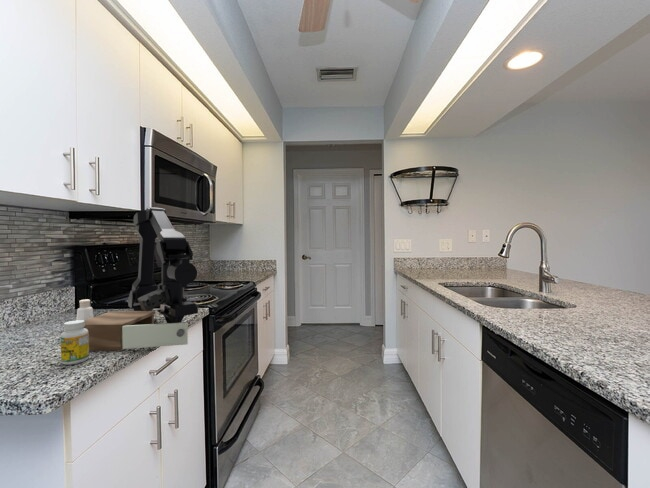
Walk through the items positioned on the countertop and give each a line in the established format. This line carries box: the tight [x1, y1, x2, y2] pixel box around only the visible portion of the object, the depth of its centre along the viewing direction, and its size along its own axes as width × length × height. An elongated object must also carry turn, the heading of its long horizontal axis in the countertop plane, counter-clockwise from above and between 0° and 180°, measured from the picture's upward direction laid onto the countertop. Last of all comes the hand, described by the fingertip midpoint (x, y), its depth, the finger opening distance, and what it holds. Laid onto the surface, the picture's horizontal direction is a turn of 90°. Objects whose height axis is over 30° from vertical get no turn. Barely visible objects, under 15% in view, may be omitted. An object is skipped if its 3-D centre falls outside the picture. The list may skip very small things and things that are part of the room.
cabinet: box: [84, 310, 156, 352], centre depth 91 cm, size 16×14×7 cm
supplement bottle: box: [59, 319, 90, 366], centre depth 76 cm, size 5×5×10 cm
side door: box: [122, 321, 189, 350], centre depth 84 cm, size 16×2×6 cm, turn 102°
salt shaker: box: [75, 298, 95, 320], centre depth 97 cm, size 5×5×11 cm
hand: (172, 334), depth 88 cm, fingers closed
